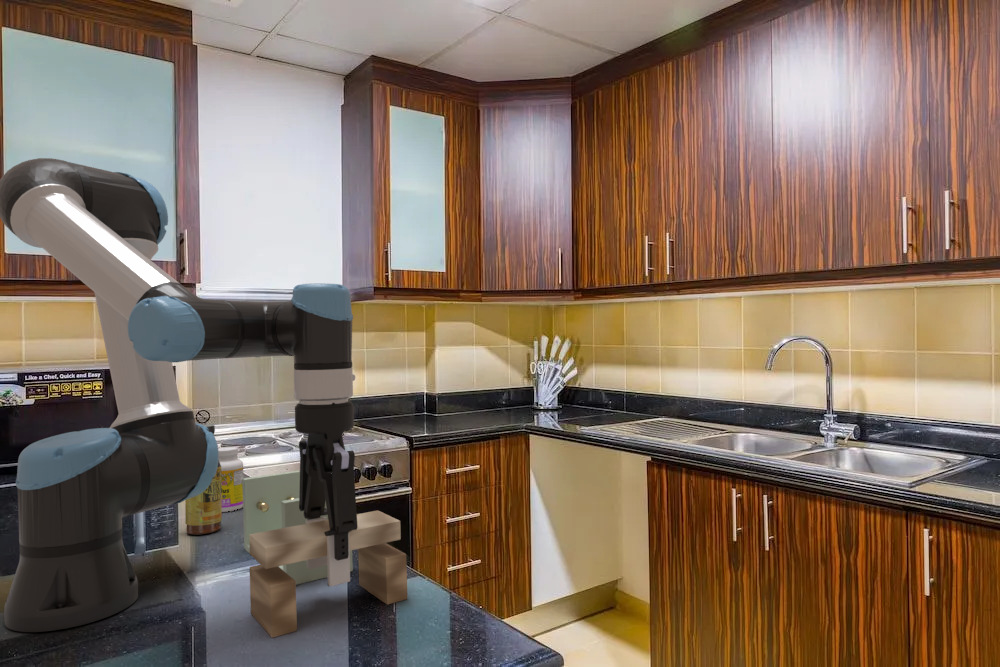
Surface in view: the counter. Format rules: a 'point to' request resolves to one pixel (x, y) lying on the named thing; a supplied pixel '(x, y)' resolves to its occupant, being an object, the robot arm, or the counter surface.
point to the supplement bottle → (231, 479)
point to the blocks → (278, 590)
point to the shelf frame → (278, 515)
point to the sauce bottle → (205, 505)
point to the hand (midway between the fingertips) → (327, 574)
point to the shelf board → (319, 539)
